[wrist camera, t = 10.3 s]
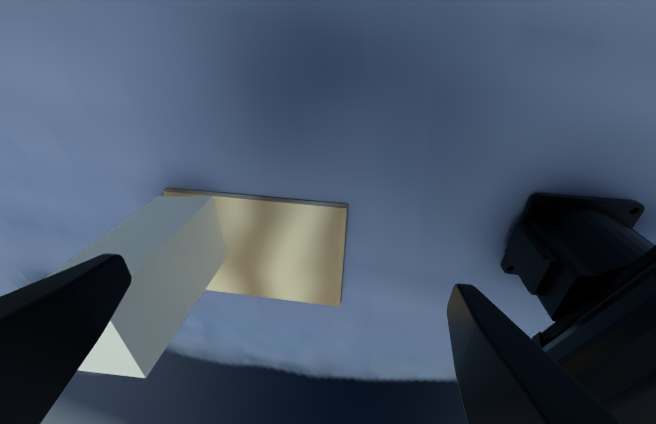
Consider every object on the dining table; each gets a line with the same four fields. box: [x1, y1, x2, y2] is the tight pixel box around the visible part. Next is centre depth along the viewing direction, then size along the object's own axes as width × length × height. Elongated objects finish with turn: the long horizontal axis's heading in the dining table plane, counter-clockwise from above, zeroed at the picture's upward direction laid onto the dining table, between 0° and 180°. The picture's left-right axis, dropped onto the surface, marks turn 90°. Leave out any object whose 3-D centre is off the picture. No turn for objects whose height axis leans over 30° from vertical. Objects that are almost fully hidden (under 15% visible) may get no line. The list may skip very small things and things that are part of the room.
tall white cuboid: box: [45, 196, 228, 378], centre depth 19 cm, size 4×6×10 cm
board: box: [163, 188, 348, 307], centre depth 25 cm, size 14×10×1 cm
